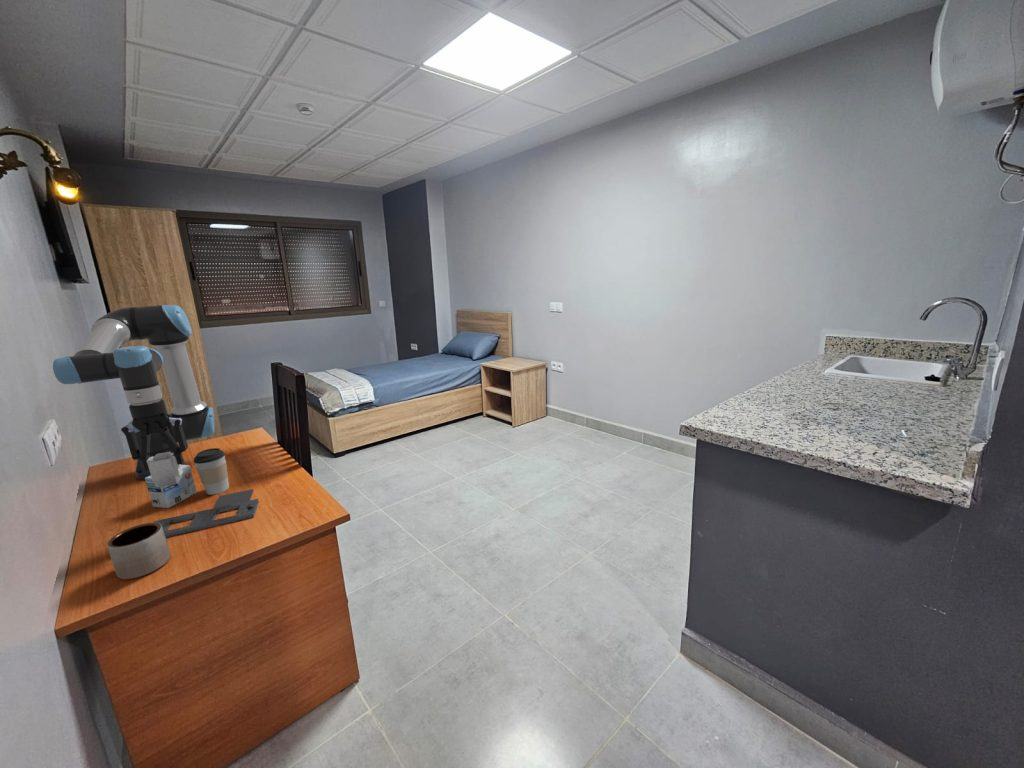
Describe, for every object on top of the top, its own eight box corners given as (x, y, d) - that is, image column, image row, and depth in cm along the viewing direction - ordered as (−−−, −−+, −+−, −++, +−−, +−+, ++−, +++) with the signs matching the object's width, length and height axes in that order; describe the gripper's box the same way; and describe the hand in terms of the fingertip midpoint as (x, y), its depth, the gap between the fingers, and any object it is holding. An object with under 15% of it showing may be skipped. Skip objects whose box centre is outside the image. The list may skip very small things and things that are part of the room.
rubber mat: (219, 497, 141) (219, 495, 141) (253, 490, 144) (252, 488, 144) (212, 512, 132) (212, 510, 132) (248, 504, 136) (248, 502, 135)
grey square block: (162, 480, 123) (154, 453, 120) (182, 476, 124) (175, 449, 122) (156, 487, 118) (147, 459, 116) (177, 483, 120) (169, 456, 118)
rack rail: (154, 524, 126) (153, 519, 126) (258, 501, 137) (257, 497, 136) (141, 543, 117) (139, 537, 117) (253, 517, 128) (252, 512, 127)
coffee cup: (200, 499, 140) (189, 459, 136) (204, 487, 148) (194, 449, 144) (231, 491, 144) (221, 452, 140) (234, 481, 152) (225, 443, 148)
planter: (107, 575, 105) (96, 543, 102) (155, 549, 114) (146, 519, 112) (133, 585, 101) (122, 552, 98) (181, 557, 111) (171, 526, 108)
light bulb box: (168, 508, 135) (159, 479, 132) (152, 507, 136) (143, 478, 134) (198, 492, 145) (190, 464, 142) (182, 490, 147) (175, 463, 144)
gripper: (97, 410, 108) (123, 489, 114) (180, 400, 115) (201, 475, 121) (111, 403, 115) (135, 478, 121) (189, 393, 121) (207, 464, 127)
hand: (168, 476), depth 121 cm, fingers closed on grey square block, 5 cm apart
